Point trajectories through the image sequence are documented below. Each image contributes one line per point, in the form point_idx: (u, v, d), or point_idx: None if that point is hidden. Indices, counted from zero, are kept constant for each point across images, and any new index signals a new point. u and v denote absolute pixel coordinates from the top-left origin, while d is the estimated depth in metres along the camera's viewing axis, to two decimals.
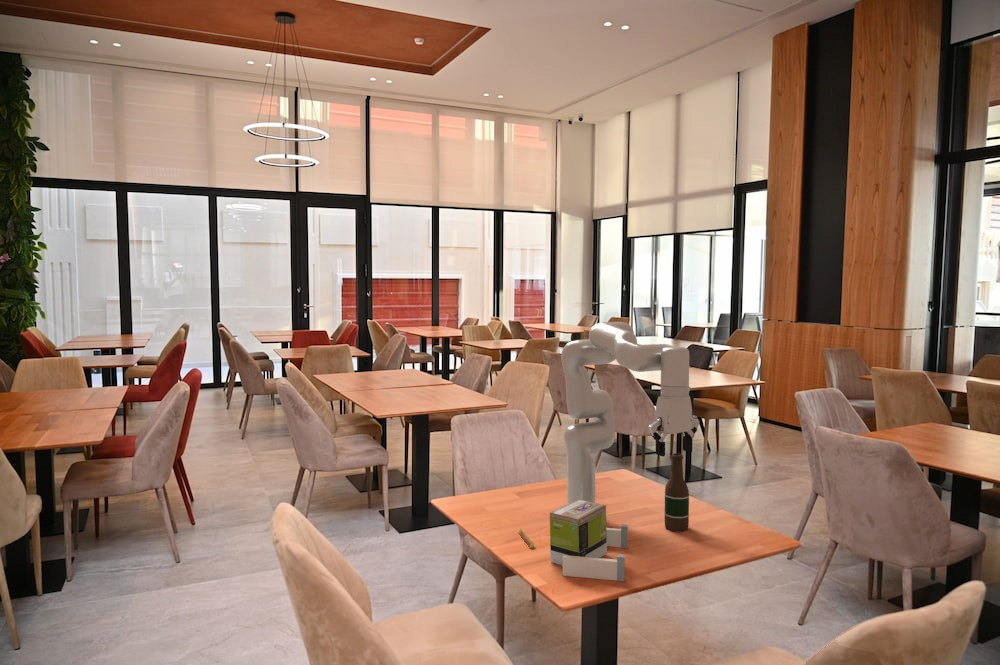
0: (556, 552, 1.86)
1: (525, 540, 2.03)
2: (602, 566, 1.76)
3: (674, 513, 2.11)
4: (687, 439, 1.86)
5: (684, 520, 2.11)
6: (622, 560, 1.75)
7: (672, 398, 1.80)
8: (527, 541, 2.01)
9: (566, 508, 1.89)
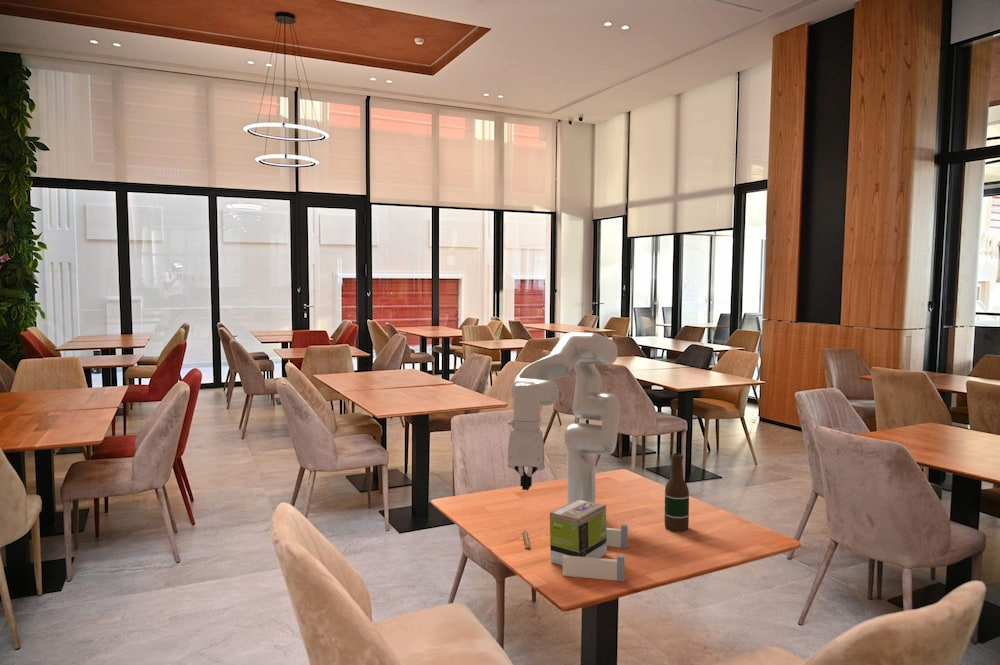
0: (556, 552, 1.86)
1: (524, 540, 2.03)
2: (602, 566, 1.76)
3: (674, 513, 2.11)
4: None
5: (684, 520, 2.11)
6: (622, 560, 1.75)
7: None
8: (525, 541, 2.01)
9: (566, 508, 1.89)
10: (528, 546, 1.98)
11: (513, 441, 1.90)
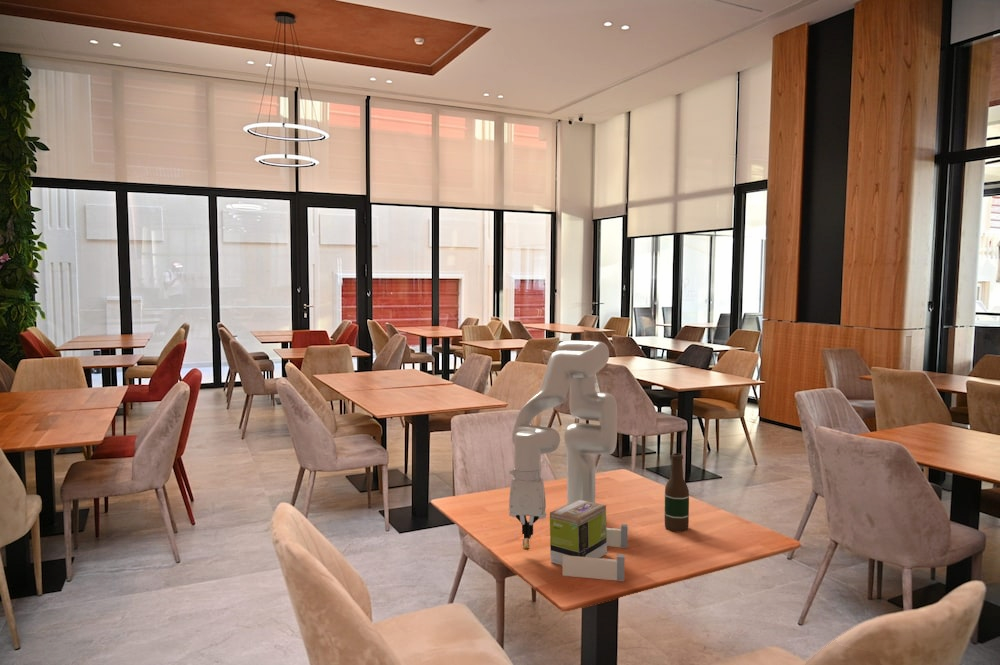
0: (556, 552, 1.86)
1: (524, 540, 2.03)
2: (602, 566, 1.76)
3: (674, 513, 2.11)
4: (527, 524, 1.94)
5: (684, 520, 2.11)
6: (622, 560, 1.75)
7: None
8: (524, 541, 2.01)
9: (566, 508, 1.89)
10: (526, 546, 1.98)
11: (514, 490, 1.91)
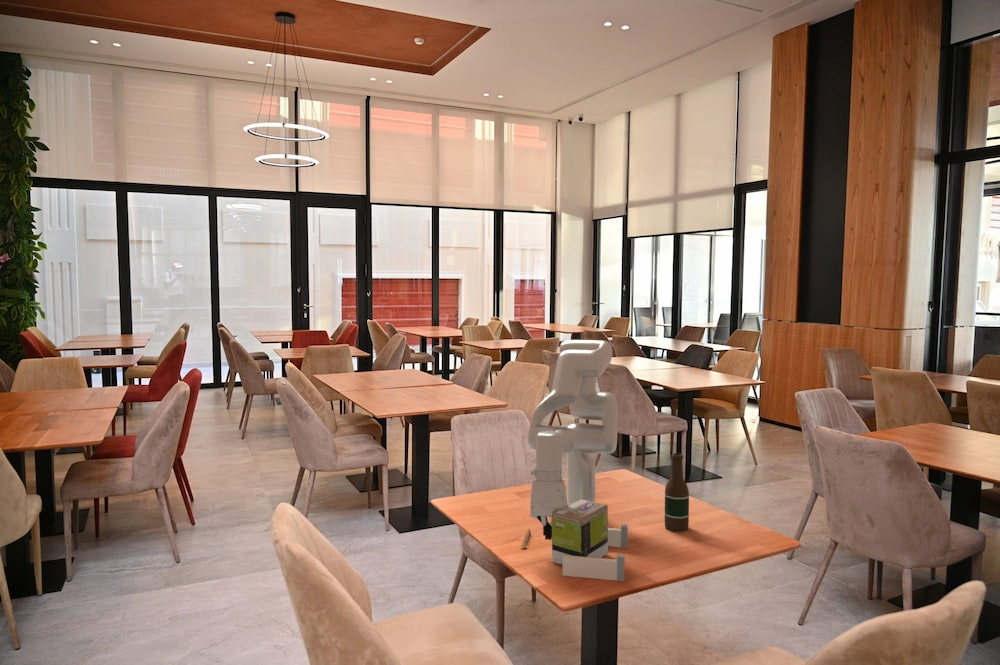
0: (558, 552, 1.86)
1: (523, 540, 2.03)
2: (602, 566, 1.76)
3: (674, 513, 2.11)
4: None
5: (684, 520, 2.11)
6: (622, 560, 1.75)
7: None
8: (523, 541, 2.01)
9: (568, 508, 1.89)
10: (523, 546, 1.98)
11: (535, 491, 1.89)
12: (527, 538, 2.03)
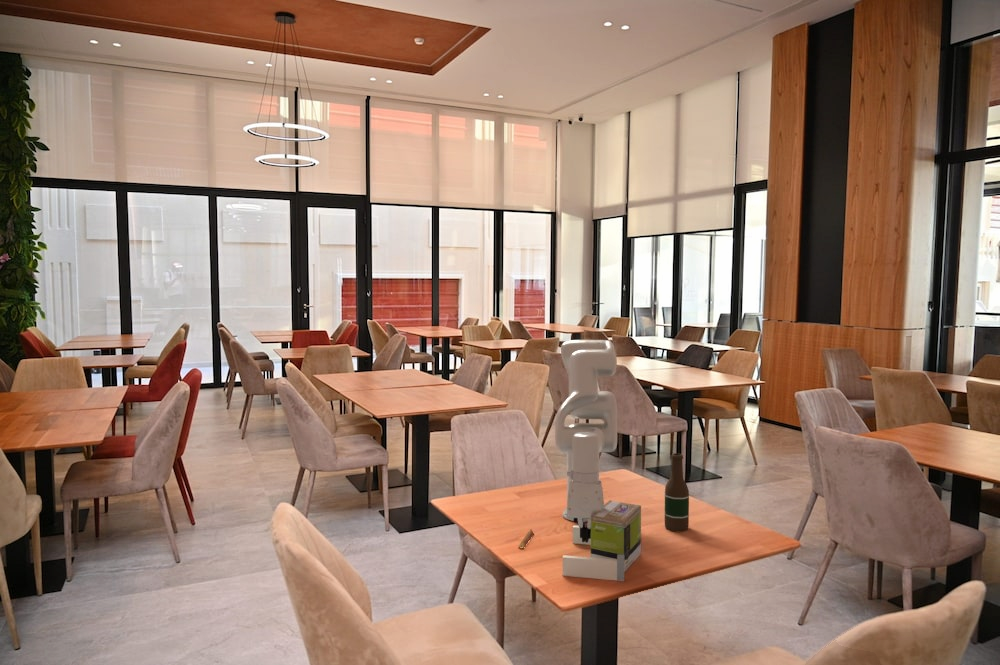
0: (598, 556, 1.83)
1: None
2: (602, 566, 1.76)
3: (674, 513, 2.11)
4: (585, 528, 1.89)
5: (684, 520, 2.11)
6: (622, 560, 1.75)
7: None
8: (522, 540, 2.01)
9: (605, 511, 1.86)
10: (521, 546, 1.98)
11: (572, 493, 1.87)
12: (527, 538, 2.03)
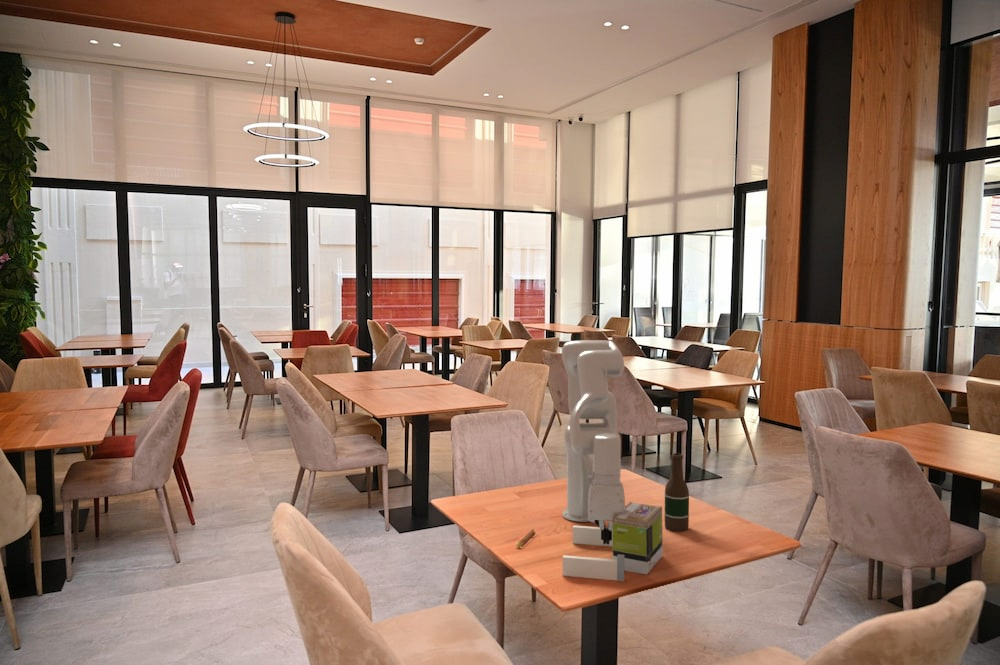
0: None
1: None
2: (602, 566, 1.76)
3: (674, 513, 2.11)
4: (606, 529, 1.89)
5: (684, 520, 2.11)
6: (622, 560, 1.75)
7: None
8: None
9: (626, 512, 1.85)
10: (519, 545, 1.98)
11: (594, 495, 1.86)
12: (526, 538, 2.03)
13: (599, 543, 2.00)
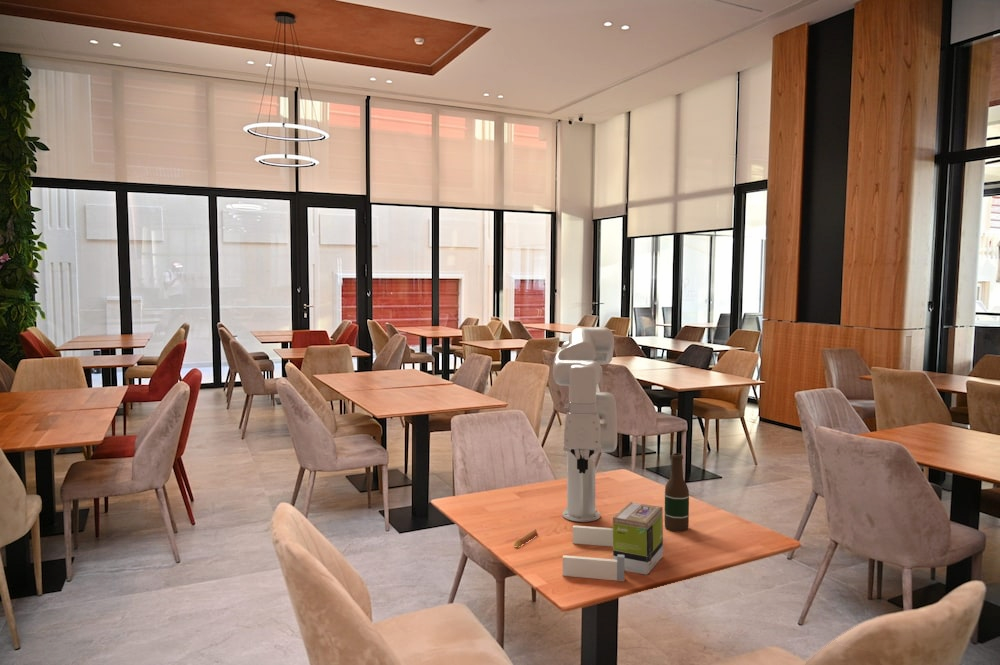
0: None
1: None
2: (602, 566, 1.76)
3: (674, 513, 2.11)
4: (582, 459, 1.89)
5: (684, 520, 2.11)
6: (622, 560, 1.75)
7: None
8: None
9: (626, 512, 1.85)
10: (516, 545, 1.99)
11: (569, 424, 1.86)
12: (526, 538, 2.03)
13: (599, 543, 2.00)
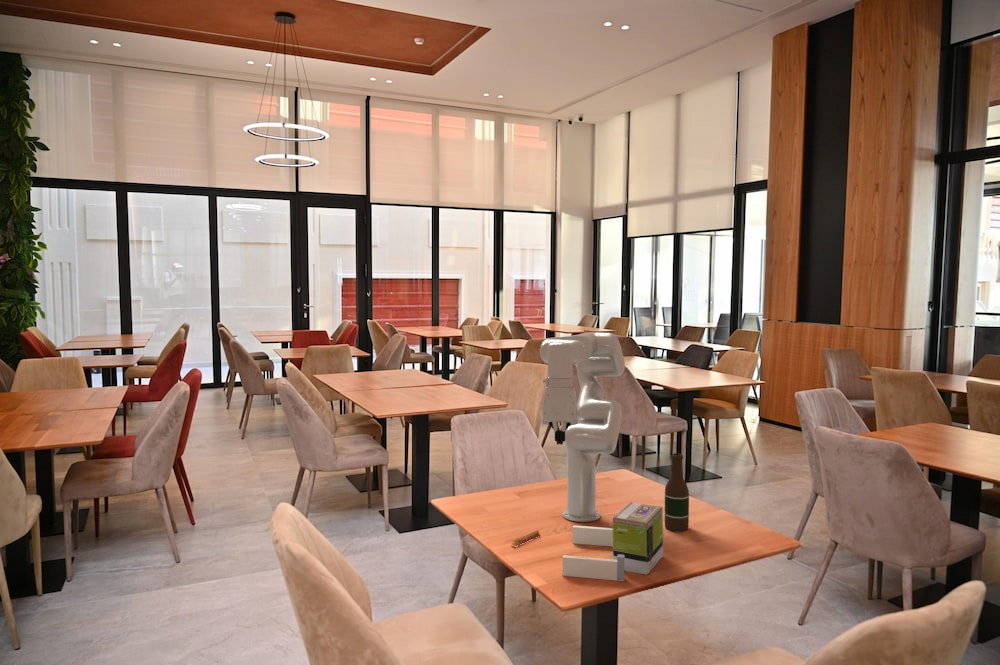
0: None
1: None
2: (602, 566, 1.76)
3: (674, 513, 2.11)
4: None
5: (684, 520, 2.11)
6: (622, 560, 1.75)
7: None
8: None
9: (626, 512, 1.85)
10: (513, 544, 1.99)
11: (547, 398, 1.99)
12: (526, 538, 2.03)
13: (599, 543, 2.00)
